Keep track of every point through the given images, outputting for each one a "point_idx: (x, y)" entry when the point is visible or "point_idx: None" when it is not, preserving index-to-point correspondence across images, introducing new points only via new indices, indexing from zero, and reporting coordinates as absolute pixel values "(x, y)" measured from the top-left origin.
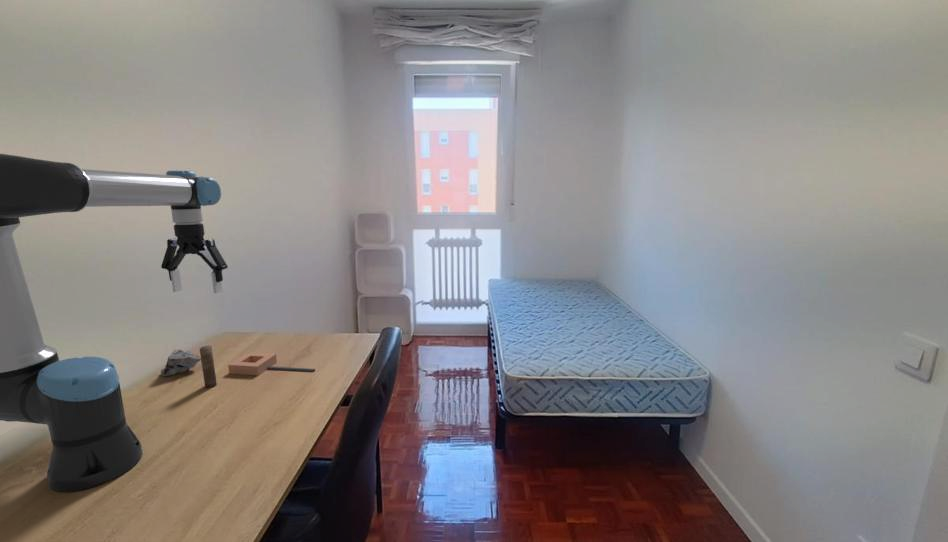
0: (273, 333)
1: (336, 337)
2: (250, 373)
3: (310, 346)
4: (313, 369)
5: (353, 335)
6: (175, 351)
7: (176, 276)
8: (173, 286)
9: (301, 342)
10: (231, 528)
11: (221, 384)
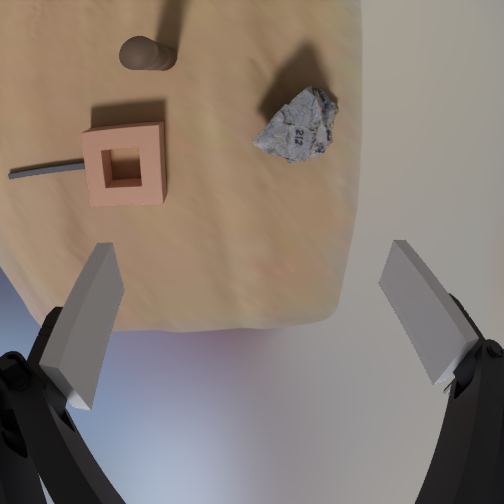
0: (221, 327)
1: None
2: (107, 126)
3: None
4: (9, 176)
5: None
6: (322, 133)
7: (430, 328)
8: (417, 260)
9: (126, 294)
10: None
11: None
